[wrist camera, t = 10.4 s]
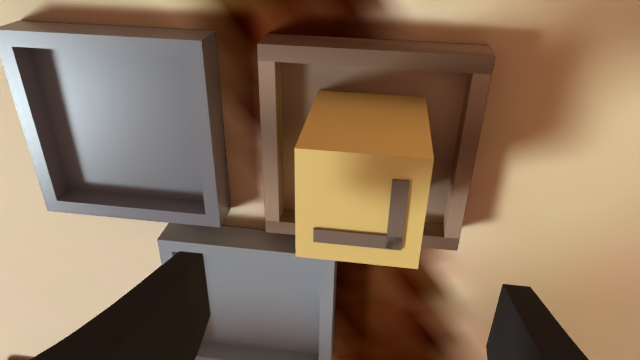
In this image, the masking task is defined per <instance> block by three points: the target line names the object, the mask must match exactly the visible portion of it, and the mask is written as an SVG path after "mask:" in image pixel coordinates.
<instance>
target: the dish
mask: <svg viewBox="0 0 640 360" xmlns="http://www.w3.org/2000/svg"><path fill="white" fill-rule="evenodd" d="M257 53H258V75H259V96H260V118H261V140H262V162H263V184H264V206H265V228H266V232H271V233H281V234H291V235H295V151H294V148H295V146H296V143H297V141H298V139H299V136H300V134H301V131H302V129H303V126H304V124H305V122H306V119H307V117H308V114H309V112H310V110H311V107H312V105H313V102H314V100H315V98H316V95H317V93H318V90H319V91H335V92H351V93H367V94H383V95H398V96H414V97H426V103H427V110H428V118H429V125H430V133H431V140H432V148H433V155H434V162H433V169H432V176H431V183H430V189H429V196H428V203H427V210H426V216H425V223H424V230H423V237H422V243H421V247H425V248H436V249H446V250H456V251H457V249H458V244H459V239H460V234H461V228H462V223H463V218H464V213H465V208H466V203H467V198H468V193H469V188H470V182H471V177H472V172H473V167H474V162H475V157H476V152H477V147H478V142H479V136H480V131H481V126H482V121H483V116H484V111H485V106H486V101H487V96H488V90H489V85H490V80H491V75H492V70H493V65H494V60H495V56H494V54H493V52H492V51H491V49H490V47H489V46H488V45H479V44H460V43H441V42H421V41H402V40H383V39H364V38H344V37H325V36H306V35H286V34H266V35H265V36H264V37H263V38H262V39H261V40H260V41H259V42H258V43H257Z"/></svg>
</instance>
